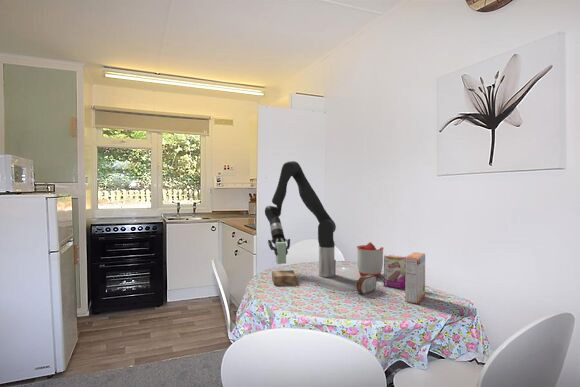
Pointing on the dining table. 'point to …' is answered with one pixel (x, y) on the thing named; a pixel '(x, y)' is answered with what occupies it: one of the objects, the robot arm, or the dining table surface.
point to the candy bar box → (394, 271)
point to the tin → (366, 283)
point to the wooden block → (284, 277)
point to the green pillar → (281, 253)
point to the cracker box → (414, 277)
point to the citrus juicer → (369, 260)
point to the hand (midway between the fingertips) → (281, 254)
